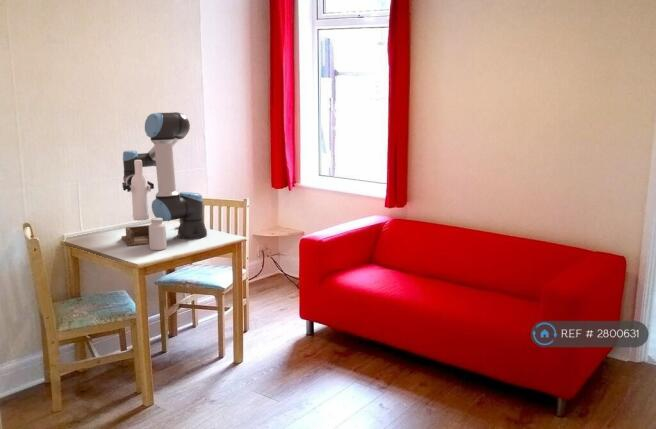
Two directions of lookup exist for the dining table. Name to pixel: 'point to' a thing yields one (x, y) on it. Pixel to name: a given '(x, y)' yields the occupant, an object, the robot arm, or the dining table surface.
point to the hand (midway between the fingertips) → (141, 189)
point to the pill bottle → (157, 234)
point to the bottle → (139, 193)
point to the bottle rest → (136, 235)
